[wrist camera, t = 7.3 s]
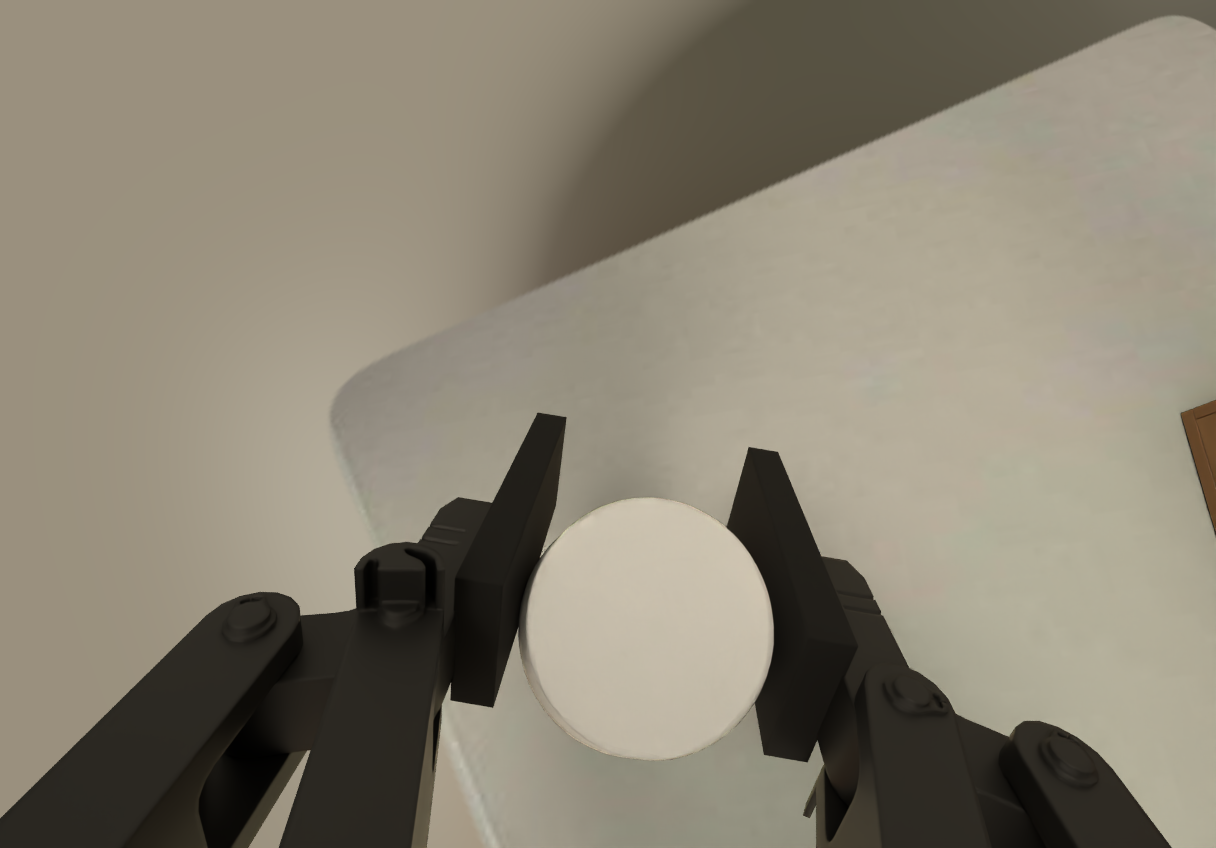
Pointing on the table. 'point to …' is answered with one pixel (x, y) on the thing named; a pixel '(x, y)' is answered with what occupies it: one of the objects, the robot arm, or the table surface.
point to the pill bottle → (646, 630)
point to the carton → (1204, 448)
